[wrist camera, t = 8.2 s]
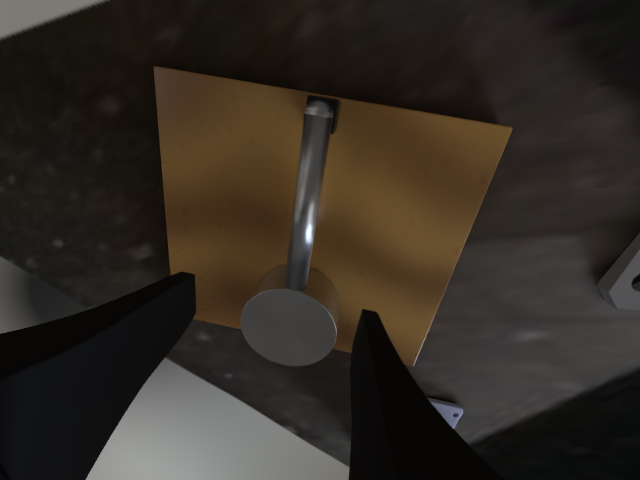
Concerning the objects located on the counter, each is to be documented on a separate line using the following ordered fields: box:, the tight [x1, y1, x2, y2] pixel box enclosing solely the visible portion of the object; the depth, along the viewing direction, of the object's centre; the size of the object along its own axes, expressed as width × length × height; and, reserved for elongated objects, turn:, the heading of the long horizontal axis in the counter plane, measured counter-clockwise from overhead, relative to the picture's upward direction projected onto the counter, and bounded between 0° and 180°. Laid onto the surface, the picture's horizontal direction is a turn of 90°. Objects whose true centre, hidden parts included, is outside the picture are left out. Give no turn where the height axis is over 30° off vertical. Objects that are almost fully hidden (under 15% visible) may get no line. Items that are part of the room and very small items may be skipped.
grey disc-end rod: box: [240, 95, 341, 366], centre depth 18 cm, size 17×6×3 cm, turn 171°
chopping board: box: [154, 66, 513, 366], centre depth 20 cm, size 18×20×2 cm
